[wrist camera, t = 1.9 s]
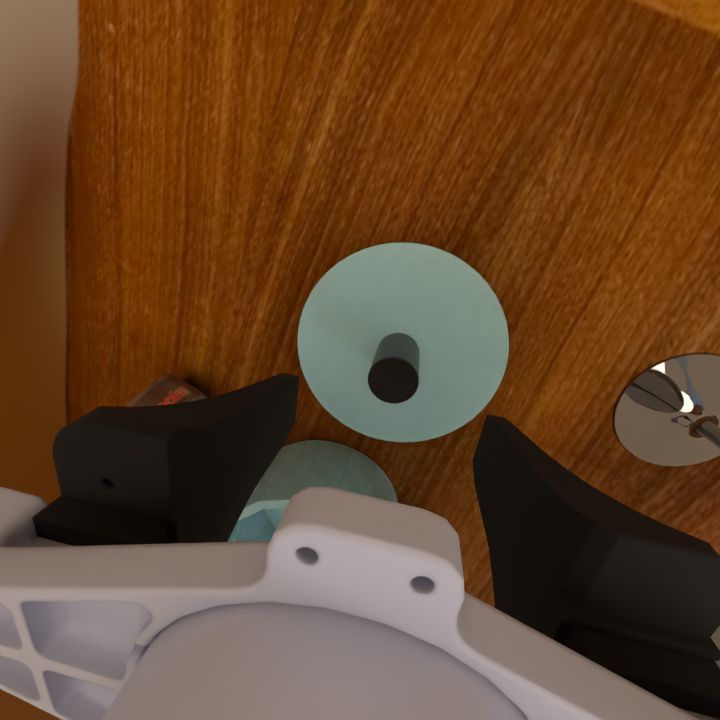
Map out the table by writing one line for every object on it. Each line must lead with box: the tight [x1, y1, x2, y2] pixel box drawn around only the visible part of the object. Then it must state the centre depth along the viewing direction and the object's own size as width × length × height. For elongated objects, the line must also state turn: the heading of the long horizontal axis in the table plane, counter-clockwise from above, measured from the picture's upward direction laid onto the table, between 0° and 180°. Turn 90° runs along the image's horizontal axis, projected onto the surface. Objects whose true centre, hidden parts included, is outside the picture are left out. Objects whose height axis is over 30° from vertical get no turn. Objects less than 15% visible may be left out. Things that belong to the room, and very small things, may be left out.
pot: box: [228, 440, 398, 542], centre depth 24 cm, size 11×16×6 cm
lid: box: [297, 242, 509, 442], centre depth 19 cm, size 12×12×5 cm
